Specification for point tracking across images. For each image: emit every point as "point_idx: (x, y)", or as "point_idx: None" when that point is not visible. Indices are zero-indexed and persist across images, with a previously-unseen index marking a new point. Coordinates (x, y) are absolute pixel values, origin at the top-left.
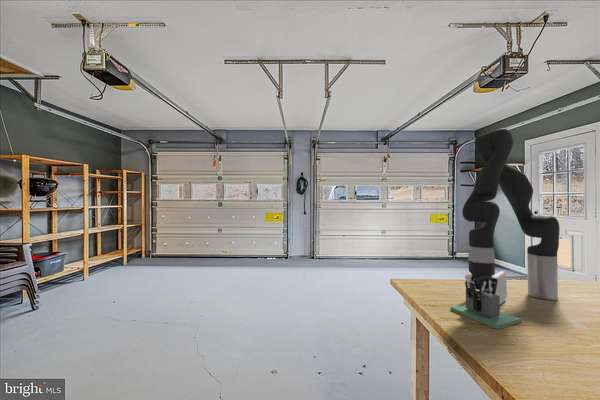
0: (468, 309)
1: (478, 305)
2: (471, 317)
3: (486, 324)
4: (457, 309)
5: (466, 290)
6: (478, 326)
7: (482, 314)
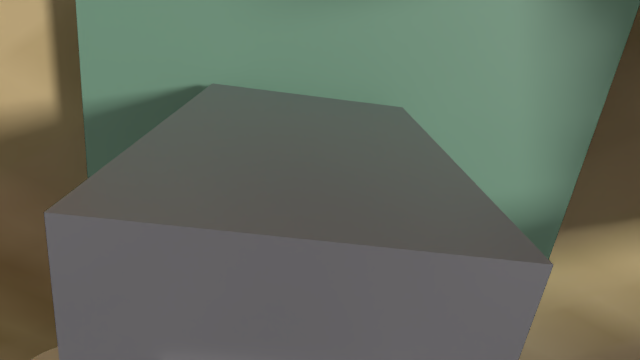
0: None
1: None
2: None
3: None
4: (83, 13)
5: (54, 242)
6: (10, 331)
7: None
